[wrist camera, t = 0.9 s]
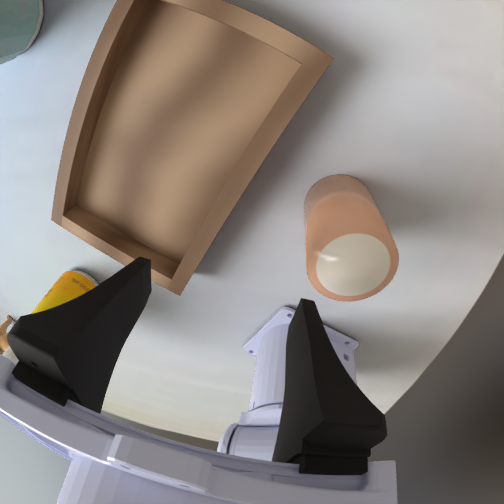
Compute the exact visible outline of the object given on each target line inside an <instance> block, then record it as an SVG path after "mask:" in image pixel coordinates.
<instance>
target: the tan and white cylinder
mask: <svg viewBox="0 0 504 504" xmlns="http://www.w3.org/2000/svg"><path fill="white" fill-rule="evenodd" d="M304 213H305V236H306V268H307V275H308V278H309V280H310V282H311V284H312V285H313V287H314V288H315V289H316V290H317V291H318V292H320V293H321V294H323V295H324V296H326V297H328V298H331V299H334V300H338V301H357V300H362V299H365V298H368V297H371V296H373V295H375V294H377V293H378V292H380V291H381V290H382V289H383V288H385V287H386V286H387V285H388V284H389V283H390V281H391V280H392V278H393V277H394V275H395V273H396V271H397V267H398V262H399V255H398V250H397V247H396V245H395V242H394V240H393V238H392V236H391V234H390V232H389V230H388V228H387V226H386V224H385V222H384V220H383V218H382V216H381V214H380V212H379V210H378V208H377V206H376V204H375V202H374V200H373V198H372V196H371V194H370V193H369V191H368V189H367V188H366V186H365V185H364V184H363V183H362V182H361V181H359V180H358V179H356V178H354V177H351V176H348V175H340V174H338V175H331V176H328V177H325V178H323V179H321V180H319V181H318V182H316V183H315V184H314V185H313V186H312V187H311V189H310V190H309V192H308V194H307V196H306V199H305V203H304Z"/></svg>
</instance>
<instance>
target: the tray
mask: <svg viewBox="0 0 504 504" xmlns="http://www.w3.org/2000/svg"><path fill="white" fill-rule="evenodd" d="M333 59H334V58H332V57H331V56H329V55H328V54H326V53H324V52H323V51H321V50H320V49H318V48H316V47H315V46H313V45H312V44H310V43H308V42H307V41H305V40H303V39H301V38H300V37H298V36H296V35H294V34H293V33H291V32H289V31H287V30H285V29H283V28H282V27H280V26H278V25H276V24H274V23H272V22H270V21H268V20H266V19H264V18H262V17H260V16H258V15H256V14H253V13H251V12H249V11H247V10H245V9H242V8H240V7H238V6H236V5H233V4H231V3H228V2H226V1H223V0H117V1H116V3H115V5H114V7H113V9H112V11H111V13H110V15H109V17H108V19H107V21H106V23H105V26H104V28H103V30H102V32H101V34H100V37H99V39H98V41H97V43H96V46H95V48H94V51H93V53H92V56H91V58H90V61H89V63H88V66H87V69H86V71H85V74H84V77H83V80H82V83H81V86H80V89H79V92H78V95H77V98H76V101H75V104H74V108H73V111H72V115H71V118H70V122H69V126H68V130H67V134H66V138H65V142H64V146H63V151H62V156H61V160H60V165H59V171H58V176H57V182H56V188H55V195H54V202H53V210H52V218H51V220H52V221H54V222H55V223H57V224H58V225H60V226H61V227H63V228H64V229H66V230H67V231H69V232H71V233H72V234H74V235H75V236H77V237H78V238H80V239H82V240H83V241H85V242H87V243H88V244H90V245H91V246H93V247H95V248H96V249H98V250H100V251H101V252H103V253H105V254H106V255H108V256H110V257H111V258H113V259H115V260H116V261H118V262H120V263H121V264H123V265H125V266H127V265H128V264H129V263H131V262H132V261H134V260H135V259H136V258H138V257H139V256H140V257H144V258H147V259H151V281H153V282H155V283H157V284H159V285H160V286H162V287H164V288H166V289H168V290H170V291H172V292H173V293H175V294H177V295H179V296H180V295H181V293H182V292H183V290H184V288H185V286H186V285H187V283H188V281H189V280H190V278H191V276H192V275H193V273H194V271H195V270H196V268H197V266H198V265H199V263H200V261H201V260H202V258H203V256H204V255H205V253H206V251H207V250H208V248H209V246H210V245H211V243H212V241H213V240H214V238H215V237H216V235H217V233H218V232H219V230H220V228H221V227H222V225H223V224H224V222H225V220H226V219H227V217H228V216H229V214H230V212H231V211H232V209H233V208H234V206H235V204H236V203H237V201H238V200H239V198H240V196H241V195H242V193H243V192H244V190H245V189H246V187H247V186H248V184H249V182H250V181H251V179H252V178H253V176H254V175H255V173H256V172H257V170H258V168H259V167H260V165H261V164H262V162H263V161H264V159H265V158H266V156H267V155H268V153H269V152H270V150H271V149H272V147H273V146H274V144H275V143H276V141H277V140H278V138H279V137H280V135H281V134H282V132H283V131H284V129H285V128H286V126H287V125H288V123H289V122H290V120H291V119H292V117H293V116H294V114H295V113H296V112H297V110H298V109H299V107H300V106H301V104H302V103H303V101H304V100H305V98H306V97H307V96H308V94H309V93H310V91H311V90H312V88H313V87H314V86H315V84H316V83H317V81H318V80H319V78H320V77H321V76H322V74H323V73H324V71H325V70H326V69H327V67H328V66H329V64H330V63H331V62H332V60H333Z"/></svg>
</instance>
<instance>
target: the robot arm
mask: <svg viewBox="0 0 504 504" xmlns="http://www.w3.org/2000/svg"><path fill="white" fill-rule="evenodd" d="M150 293H151V259H147V258H144V257H140V256H139V257H138V258H136V259H135V260H134V261H132V262H131V263H129V264H128V265H127V266H125V267H124V268H123V269H121V270H120V271H118V272H117V273H116V274H114V275H113V276H111V277H110V278H108V279H107V280H105V281H104V282H102V283H101V284H99V285H98V286H96V287H94V288H93V289H91V290H89V291H88V292H86V293H84V294H82V295H80V296H78V297H76V298H74V299H72V300H70V301H68V302H65V303H63V304H61V305H58V306H56V307H53V308H50V309H47V310H44V311H41V312H37V313H33V314H29V315H25V316H21V317H20V318H19V319H18V321H17V322H16V323H15V325H14V326H13V327H12V329H11V330H10V332H9V333H8V334H7V342H8V344H9V346H10V348H11V349H12V351H13V352H14V354H15V356H16V357H17V359H18V360H19V361H18V363H17V364H16V365H15V364H14V363H13V362H12V361H11V360H9V359H8V358H6V357H5V356H3V355H2V354H0V415H1V416H2V417H3V418H5V419H6V420H7V421H9V422H10V423H12V424H13V425H14V426H16V427H17V428H19V429H20V430H21V431H23V432H25V433H26V434H27V435H29V436H30V437H32V438H33V439H35V440H36V441H38V442H40V443H41V444H43V445H44V446H46V447H48V448H49V449H51V450H53V451H54V452H56V453H58V454H59V455H61V456H63V457H65V458H66V459H68V460H70V461H72V462H71V465H70V468H69V470H68V473H67V475H66V478H65V481H64V483H63V486H62V489H61V492H60V495H59V498H58V500H57V504H397V488H396V487H397V485H396V466H395V461H375V462H370V463H368V459H367V457H370V455H371V451H370V449H371V448H372V447H374V446H375V445H377V444H379V443H380V442H382V441H383V440H384V439H385V438H386V436H387V427H386V420H385V415H384V414H383V413H382V412H381V411H380V410H379V409H378V408H377V407H376V406H375V405H373V404H372V403H371V401H370V400H369V399H368V398H367V397H366V396H365V395H364V394H363V392H362V391H361V390H360V389H359V387H358V386H357V381H356V371H355V361H354V352H353V351H354V350H355V349H356V348H358V347H359V343H358V342H357V341H356V340H354V339H352V338H349V337H347V336H345V335H343V334H341V333H339V332H337V331H335V330H333V329H331V328H329V327H327V326H325V325H323V323H322V321H321V318H320V315H319V313H318V310H317V307H316V304H315V302H314V301H311V300H307V299H303V298H301V300H300V302H299V305H298V307H297V309H296V311H295V310H293V309H291V308H289V307H282V308H281V309H280V310H279V311H278V312H277V313H276V314H275V315H274V316H273V317H272V318H271V319H270V320H269V321H268V322H267V323H266V324H265V325H264V326H263V327H262V328H261V329H260V330H259V331H258V332H257V333H256V334H255V335H254V336H253V337H252V338H251V339H250V340H249V341H248V342H247V343H246V344H245V345H244V346H243V351H244V352H246V353H249V354H251V355H253V356H256V357H257V359H256V366H255V372H254V379H253V385H252V391H251V398H250V404H249V410H248V412H243V413H241V414H240V420H239V423H234V424H231V425H230V426H229V427H228V428H227V430H226V431H225V432H224V433H223V435H222V437H221V439H220V441H219V445H218V449H217V452H216V451H212V450H207V449H203V448H199V447H195V446H191V445H187V444H184V443H180V442H177V441H173V440H170V439H167V438H164V437H160V436H157V435H154V434H151V433H148V432H145V431H142V430H139V429H137V428H134V427H131V426H129V425H126V424H123V423H121V422H118V421H116V420H113V419H111V418H108V417H106V416H104V415H101V414H100V413H101V409H102V405H103V401H104V397H105V394H106V391H107V387H108V384H109V381H110V378H111V375H112V373H113V370H114V367H115V364H116V362H117V359H118V357H119V354H120V352H121V349H122V347H123V345H124V343H125V341H126V339H127V338H128V336H129V334H130V332H131V331H132V329H133V327H134V325H135V324H136V322H137V320H138V318H139V316H140V315H141V313H142V311H143V309H144V307H145V305H146V303H147V300H148V298H149V295H150Z"/></svg>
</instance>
